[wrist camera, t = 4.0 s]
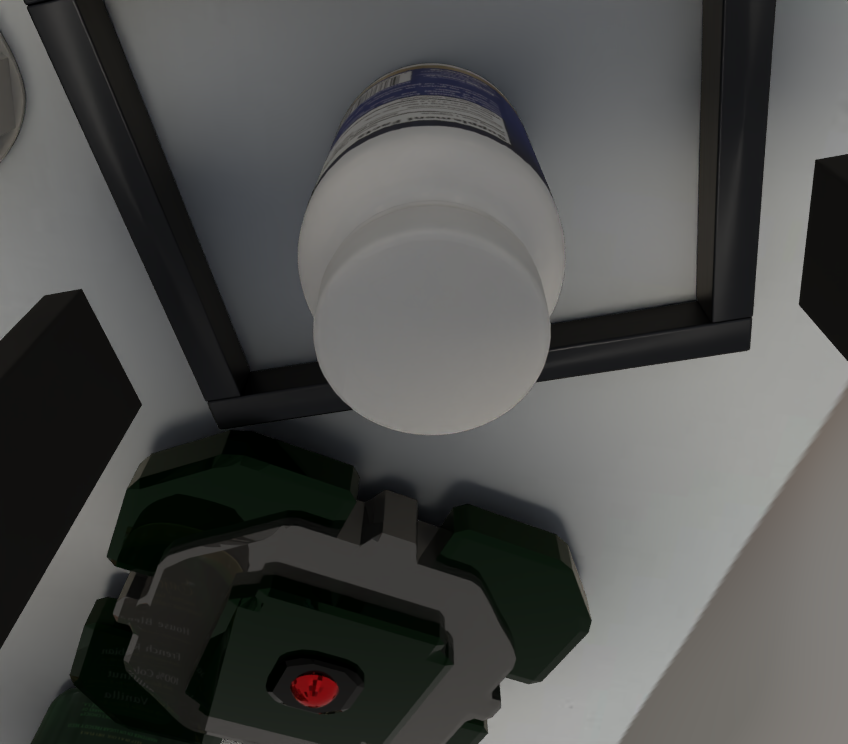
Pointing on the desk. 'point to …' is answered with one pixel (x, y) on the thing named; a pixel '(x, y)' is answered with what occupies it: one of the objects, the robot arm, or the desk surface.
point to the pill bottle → (431, 254)
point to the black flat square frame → (570, 341)
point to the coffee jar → (87, 725)
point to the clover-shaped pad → (316, 605)
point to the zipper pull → (9, 99)
